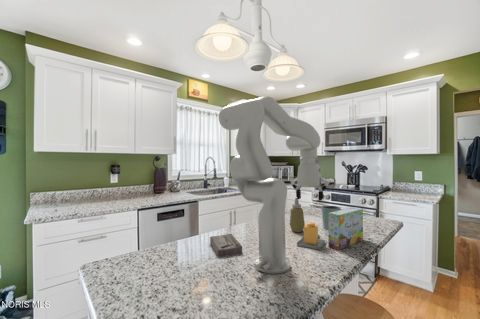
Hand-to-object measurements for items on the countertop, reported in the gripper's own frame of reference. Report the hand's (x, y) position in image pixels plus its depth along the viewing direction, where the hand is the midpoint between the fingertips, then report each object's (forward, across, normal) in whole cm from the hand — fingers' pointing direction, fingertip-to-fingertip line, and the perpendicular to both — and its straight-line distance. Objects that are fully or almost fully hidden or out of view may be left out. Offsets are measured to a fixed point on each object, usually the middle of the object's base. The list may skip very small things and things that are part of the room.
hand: (309, 199), depth 104 cm
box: (+21, +31, +22) cm, 44 cm away
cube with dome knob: (+19, 0, 0) cm, 19 cm away
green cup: (+20, -3, -31) cm, 37 cm away
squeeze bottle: (+20, +12, -17) cm, 29 cm away
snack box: (+20, -14, -10) cm, 26 cm away
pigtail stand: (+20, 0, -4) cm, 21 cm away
